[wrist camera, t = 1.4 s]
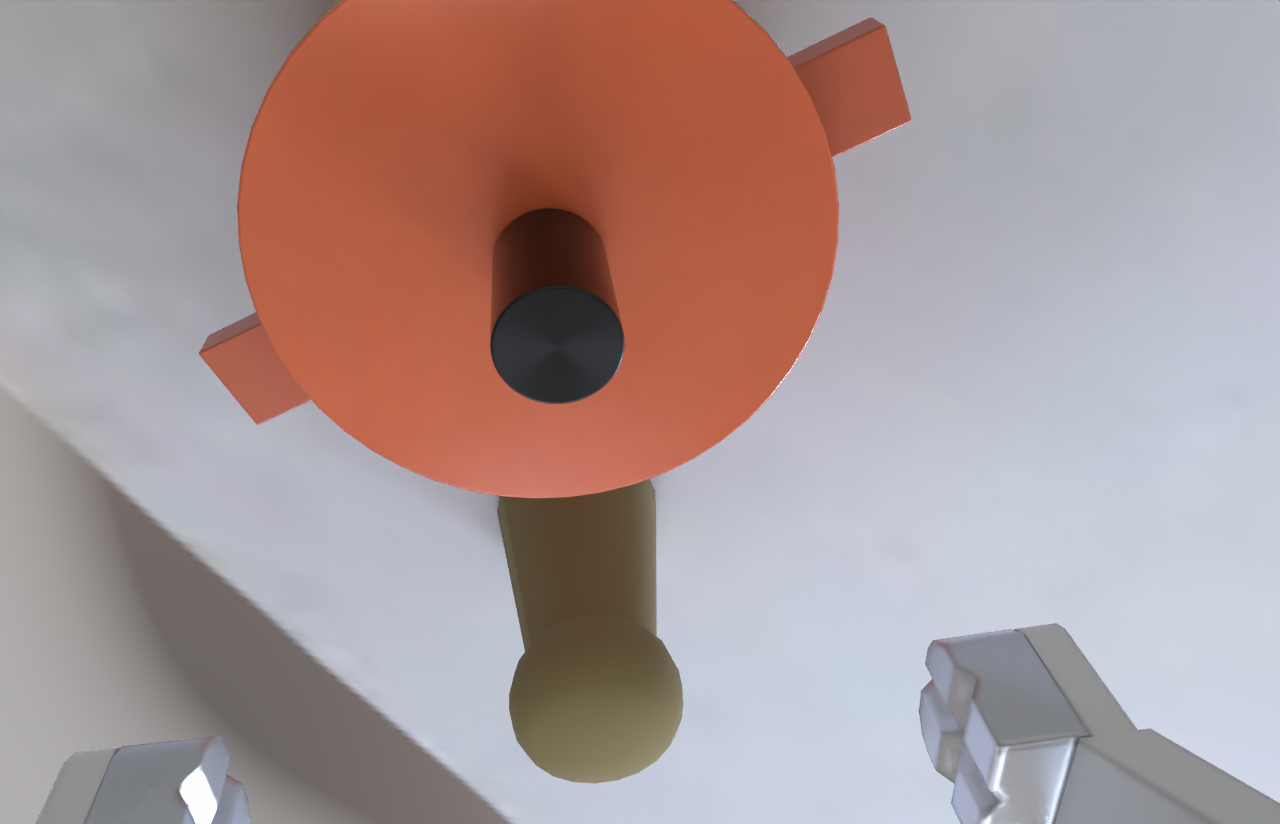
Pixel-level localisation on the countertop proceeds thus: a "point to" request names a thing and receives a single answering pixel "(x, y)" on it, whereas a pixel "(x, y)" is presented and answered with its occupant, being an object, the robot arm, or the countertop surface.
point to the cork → (589, 634)
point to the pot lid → (538, 232)
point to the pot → (843, 97)
